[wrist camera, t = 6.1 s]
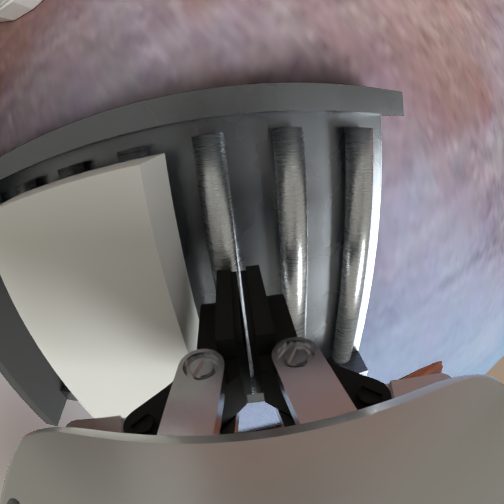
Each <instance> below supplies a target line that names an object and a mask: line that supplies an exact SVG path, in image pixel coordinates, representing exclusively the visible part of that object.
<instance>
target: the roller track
mask: <svg viewBox="0 0 504 504" xmlns="http://www.w3.org/2000/svg"><path fill="white" fill-rule="evenodd" d="M381 115H382V116H404V113H403V97H402V92H399V91H393V90H386V89H380V88H372V87H364V86H354V85H343V84H328V83H261V84H246V85H234V86H224V87H216V88H208V89H201V90H194V91H188V92H182V93H177V94H172V95H167V96H162V97H157V98H153V99H148V100H144V101H140V102H136V103H132V104H129V105H125V106H121V107H118V108H115V109H111V110H108V111H105V112H102V113H99V114H96V115H93V116H90V117H87V118H84V119H81V120H79V121H76V122H73V123H71V124H68V125H65V126H63V127H61V128H58V129H56V130H53V131H51V132H49V133H46V134H44V135H42V136H40V137H38V138H36V139H33V140H31V141H29V142H27V143H25V144H23V145H21V146H19V147H17V148H16V149H14V150H12V151H10V152H8V153H6V154H4V155H3V156H1V157H0V204H2V203H4V202H6V201H8V200H10V199H12V198H14V197H16V196H18V195H20V194H22V193H24V192H26V191H29V190H32V189H34V188H37V187H40V186H43V185H46V184H48V183H51V182H54V181H57V180H60V179H63V178H67V177H70V176H73V175H76V174H80V173H83V172H87V171H90V170H94V169H97V168H101V167H105V166H109V165H113V164H117V163H121V162H125V161H129V160H134V159H138V158H143V157H147V156H152V155H157V154H162V153H165V159H166V165H167V172H168V178H169V184H170V190H171V195H172V201H173V206H174V212H175V217H176V222H177V227H178V232H179V237H180V242H181V247H182V251H183V256H184V260H185V265H186V269H187V274H188V278H189V282H190V286H191V290H192V295H193V299H194V303H195V306H196V310H197V314H198V318H199V317H200V307H201V304H208V303H216V275H217V270H222V269H229V268H230V269H231V272H234V271H236V273H237V280H238V287H239V293H240V300H241V306H242V313H243V319H244V326H245V334H246V342H247V351H248V359H249V368H250V376H251V384H252V392H253V394H251V395H247V399H248V403H253V402H261V401H265V400H264V394H263V393H259V394H257V388H256V382H255V376H254V369H253V363H252V357H251V350H250V344H249V337H248V330H247V321H246V313H245V305H244V297H243V288H242V280H241V271H242V270H246V268H245V266H252V265H259V267H260V271H261V275H262V279H263V284H264V288H265V292H266V296H270V295H276V294H283V295H284V297H285V300H286V303H287V306H288V309H289V312H290V315H291V318H292V321H293V324H294V327H295V330H296V334H297V337H303V338H307V339H309V340H311V341H313V342H314V343H315V344H316V345H317V346H318V348H319V349H320V351H321V352H322V354H323V356H324V357H325V359H326V360H327V361H329V362H331V363H334V364H336V365H339V366H341V367H344V368H346V369H349V370H351V371H354V372H357V373H359V374H362V375H365V376H366V375H367V372H368V369H367V367H366V366H365V364H364V362H363V360H362V358H361V356H360V354H359V352H358V349H359V345H360V340H361V336H362V331H363V327H364V322H365V317H366V312H367V307H368V301H369V295H370V289H371V283H372V277H373V270H374V263H375V255H376V246H377V237H378V226H379V214H380V199H381V174H382V134H381ZM0 372H1V374H2V375H3V376H4V377H5V379H6V380H7V381H8V382H9V384H10V385H11V386H12V387H13V389H14V390H15V391H16V392H17V393H18V394H19V396H20V397H21V398H22V399H23V400H24V401H25V402H26V403H27V404H28V405H29V407H30V408H31V409H32V410H33V411H34V412H35V413H36V414H37V415H38V416H39V417H40V418H41V419H42V420H43V421H44V422H45V423H47V424H50V425H54V426H58V423H59V420H60V417H61V414H62V411H63V408H64V406H65V403H66V400H67V399H69V400H75V401H78V400H77V399H76V397H75V396H74V395H73V394H72V393H71V391H70V390H69V389H68V388H67V386H66V385H65V384H64V383H63V381H62V380H61V379H60V377H59V376H58V375H57V373H56V372H55V371H54V369H53V368H52V366H51V365H50V363H49V362H48V361H47V359H46V358H45V356H44V355H43V353H42V352H41V350H40V349H39V347H38V345H37V344H36V342H35V341H34V339H33V337H32V336H31V334H30V332H29V331H28V329H27V327H26V326H25V324H24V322H23V320H22V318H21V317H20V315H19V313H18V311H17V309H16V307H15V305H14V303H13V301H12V299H11V297H10V295H9V293H8V291H7V289H6V287H5V284H4V282H3V280H2V278H1V275H0Z"/></svg>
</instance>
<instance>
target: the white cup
mask: <svg viewBox="0 0 504 504" xmlns="http://www.w3.org/2000/svg"><path fill="white" fill-rule="evenodd" d="M42 1H43V0H0V22H4V21H12V20H16V19H17V18H19V17H21V16H22V15H24V14H26V13H27V12H29V11H31V10H33V9H34V8H35V7H36V6H37V5H38V4H39V3H41V2H42Z"/></svg>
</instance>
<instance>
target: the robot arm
mask: <svg viewBox="0 0 504 504" xmlns="http://www.w3.org/2000/svg"><path fill="white" fill-rule="evenodd" d="M245 268H246V270H242V271H241V280H242V288H243V297H244V305H245V313H246V321H247V330H248V337H249V344H250V350H251V357H252V363H253V369H254V376H255V382H256V388H257V394H259V393H263V394H264V400H265V402H266V403H268V404H270V405H272V406H273V407H275V408H276V412H277V415H278V418H279V420H280V423H281V425H282V428H276V429H269V430H262V431H254V432H245V433H238V424H239V411H240V410H241V409H242V408H243V407H244V406H245V405H246V403H248V399H247V395H251V394H253V392H252V384H251V376H250V368H249V359H248V351H247V342H246V334H245V326H244V319H243V313H242V306H241V300H240V293H239V287H238V280H237V273H236V271H234V272H231V269H230V268H229V269H222V270H217V275H216V303H208V304H201V307H200V317H199V328H198V339H197V350H194V351H191V352H190V353H188V354H186V355H185V356H184V357H183V358H182V359H181V361H180V362H179V364H178V367H177V371H176V374H175V377H174V380H173V382H172V383H170V384H169V385H168V386H167V387H165V388H164V389H163V390H161V391H160V392H158V393H157V394H156V395H154V396H153V397H152V398H150V399H149V400H148V401H146V402H145V403H143V404H142V405H141V406H139V407H138V408H137V409H135V410H134V411H132V412H131V413H130V414H129V415H128V416H127V417H126V418H122V416H121V415H119V416H112V417H103V418H93V419H83V420H74V421H71V422H70V423H68V424H67V426H66V427H53V428H45V429H39V430H36V431H33V432H30V433H28V434H26V435H25V436H24V437H23V438H22V439H21V440H20V441H19V443H18V444H17V446H16V448H15V450H14V453H13V455H12V458H11V460H10V463H9V466H8V469H7V473H6V476H5V480H4V485H3V490H2V494H1V501H0V504H504V384H503V383H502V382H500V381H499V380H498V379H496V378H494V377H492V376H489V375H479V374H475V375H464V376H458V377H453V378H451V377H450V376H449V375H446V374H443V373H436V374H431V375H425V376H419V377H413V378H407V379H400V380H392V381H390V384H384V383H382V382H380V381H378V380H376V379H373V378H370V377H367V376H365V375H362V374H359V373H357V372H354V371H351V370H349V369H346V368H344V367H341V366H339V365H336V364H334V363H331V362H329V361H327V360H326V359H325V357H324V356H323V354H322V352H321V351H320V349H319V348H318V346H317V345H316V344H315V343H314V342H313V341H311V340H309V339H307V338H303V337H297V334H296V330H295V327H294V324H293V321H292V318H291V315H290V312H289V309H288V306H287V303H286V300H285V297H284V295H283V294H276V295H270V296H266V292H265V288H264V284H263V279H262V275H261V271H260V267H259V265H252V266H245Z"/></svg>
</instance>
